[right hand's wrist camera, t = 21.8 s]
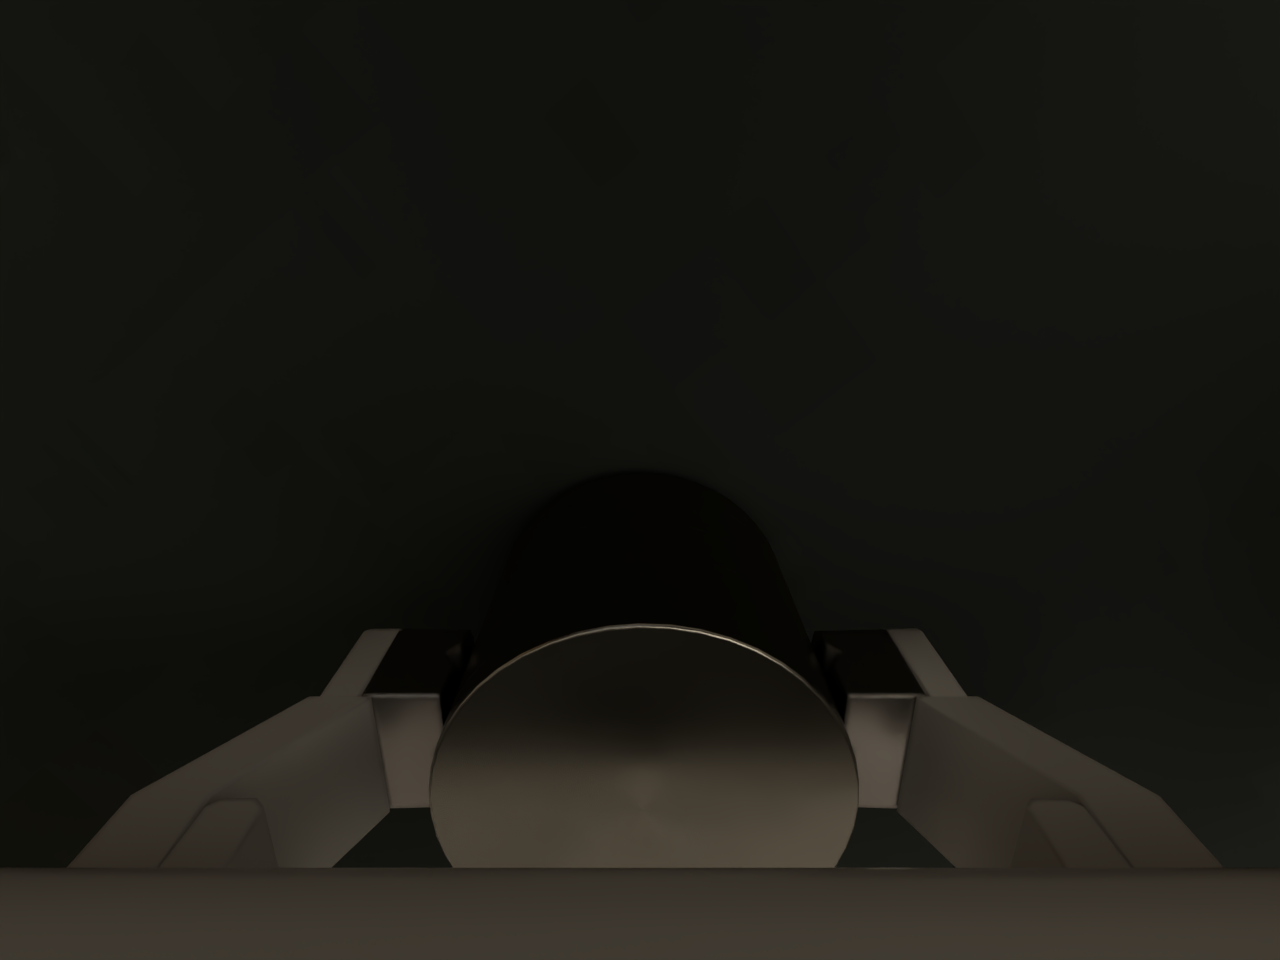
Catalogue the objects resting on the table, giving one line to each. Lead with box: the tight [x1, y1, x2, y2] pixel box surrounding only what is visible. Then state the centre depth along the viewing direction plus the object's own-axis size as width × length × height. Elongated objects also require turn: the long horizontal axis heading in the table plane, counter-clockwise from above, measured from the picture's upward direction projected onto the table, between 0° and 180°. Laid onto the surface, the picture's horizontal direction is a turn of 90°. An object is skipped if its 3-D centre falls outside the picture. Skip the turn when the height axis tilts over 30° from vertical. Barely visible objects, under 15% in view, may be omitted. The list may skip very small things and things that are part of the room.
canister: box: [429, 473, 859, 868], centre depth 10 cm, size 5×5×5 cm
